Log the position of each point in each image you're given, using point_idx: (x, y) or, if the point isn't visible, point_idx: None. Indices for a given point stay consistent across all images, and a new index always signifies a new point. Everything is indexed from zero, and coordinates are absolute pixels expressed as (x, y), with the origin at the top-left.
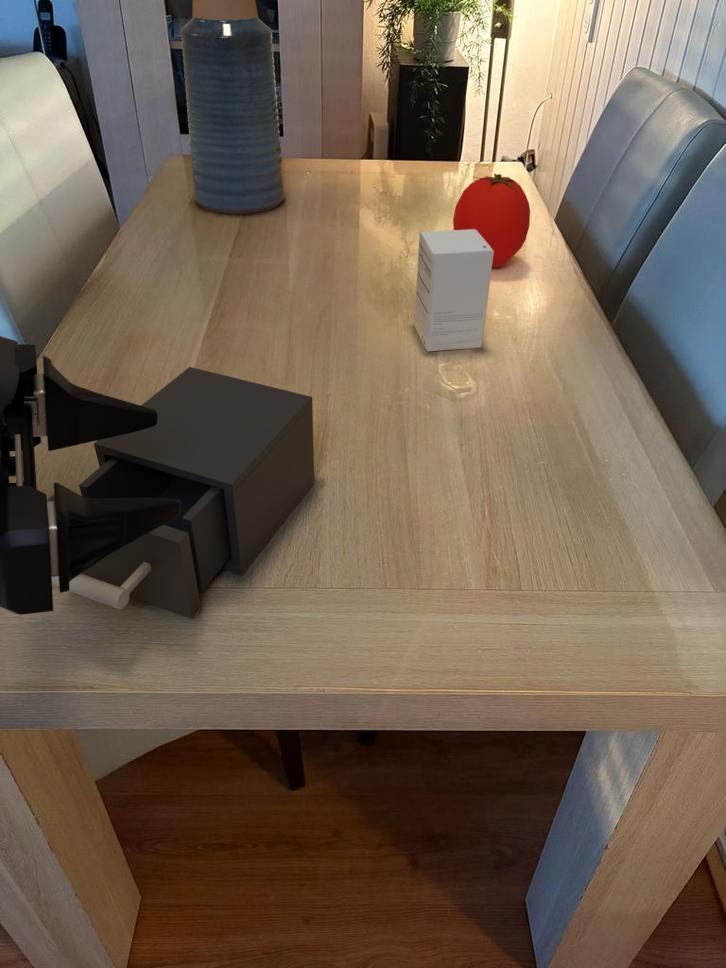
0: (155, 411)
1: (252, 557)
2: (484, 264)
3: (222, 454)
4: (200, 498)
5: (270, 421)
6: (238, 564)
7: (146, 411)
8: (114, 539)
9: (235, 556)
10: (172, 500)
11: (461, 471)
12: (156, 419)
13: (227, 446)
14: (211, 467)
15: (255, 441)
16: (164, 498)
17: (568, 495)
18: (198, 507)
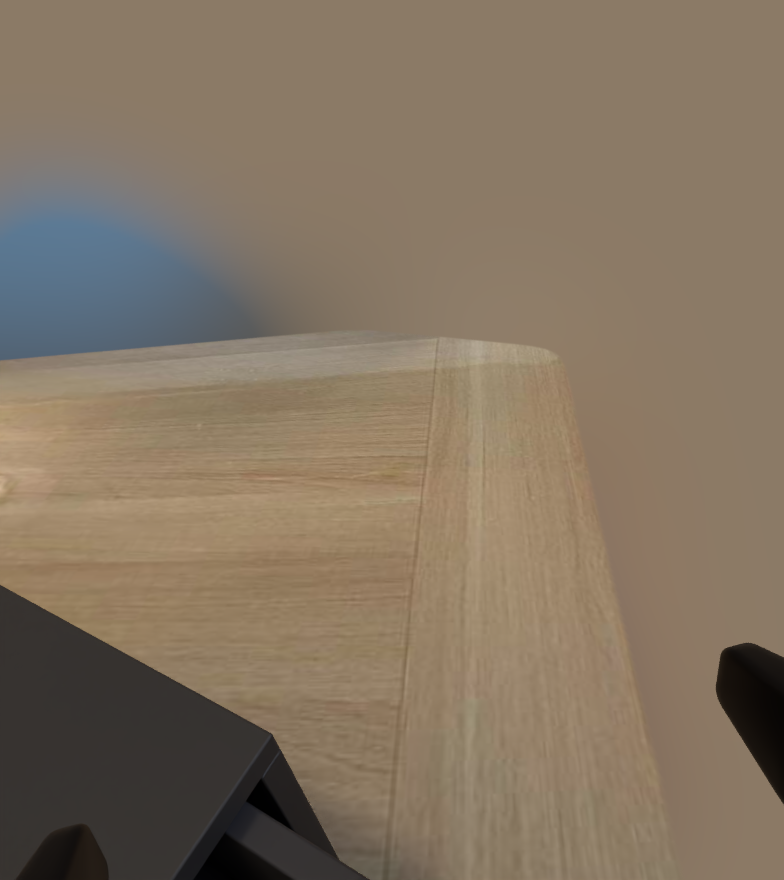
0: (64, 830)
1: None
2: None
3: (113, 779)
4: (272, 864)
5: (22, 656)
6: None
7: (63, 870)
8: None
9: None
10: (758, 659)
11: (177, 499)
12: (96, 846)
13: (77, 767)
14: (166, 810)
15: (94, 686)
16: (773, 684)
17: (270, 409)
18: (319, 865)
